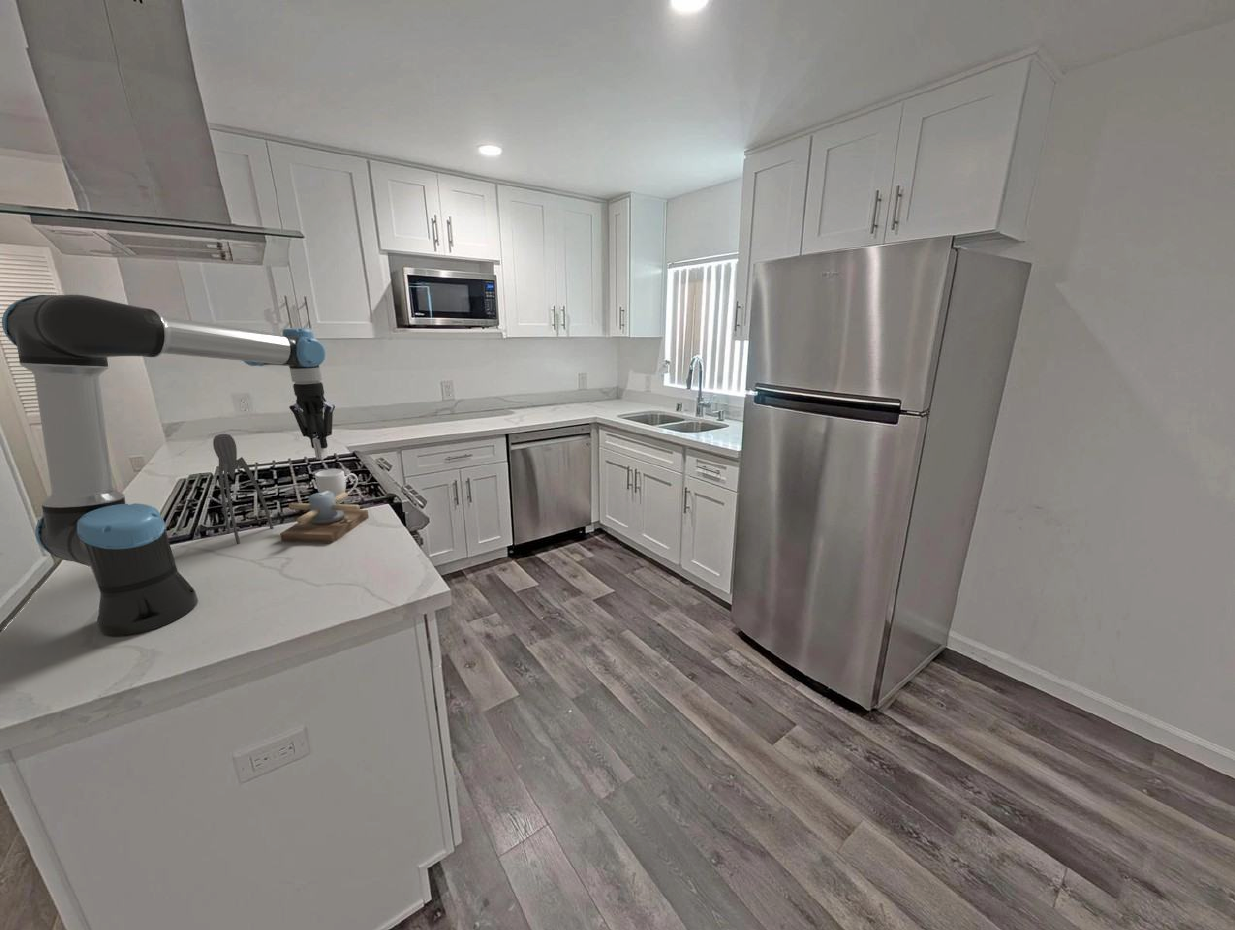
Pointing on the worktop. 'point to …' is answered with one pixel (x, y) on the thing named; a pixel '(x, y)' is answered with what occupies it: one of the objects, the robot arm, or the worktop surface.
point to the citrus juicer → (232, 476)
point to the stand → (324, 529)
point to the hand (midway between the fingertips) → (321, 458)
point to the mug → (333, 481)
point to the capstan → (324, 508)
